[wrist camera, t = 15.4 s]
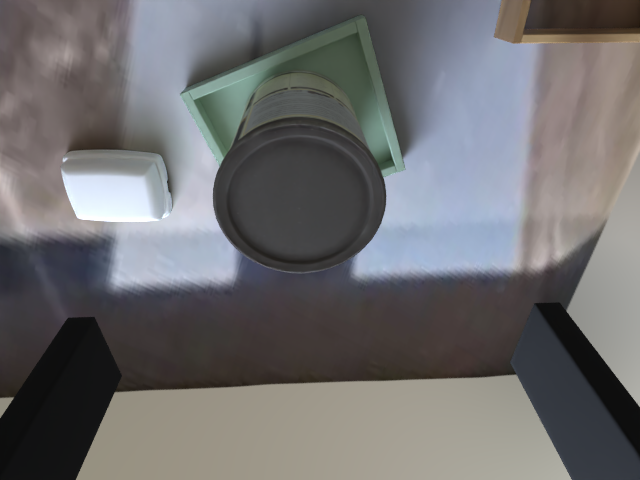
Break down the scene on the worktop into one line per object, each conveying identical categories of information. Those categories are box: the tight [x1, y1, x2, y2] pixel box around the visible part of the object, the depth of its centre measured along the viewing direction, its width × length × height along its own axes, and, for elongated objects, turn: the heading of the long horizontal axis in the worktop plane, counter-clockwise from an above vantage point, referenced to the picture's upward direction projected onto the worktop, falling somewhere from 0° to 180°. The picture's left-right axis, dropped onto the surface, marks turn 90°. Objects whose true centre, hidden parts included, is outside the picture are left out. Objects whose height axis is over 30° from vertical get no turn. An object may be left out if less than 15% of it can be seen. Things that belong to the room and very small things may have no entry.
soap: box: [61, 150, 172, 222], centre depth 37 cm, size 9×7×3 cm
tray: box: [180, 15, 405, 177], centre depth 35 cm, size 16×13×2 cm
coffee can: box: [213, 69, 386, 273], centre depth 29 cm, size 10×10×14 cm
